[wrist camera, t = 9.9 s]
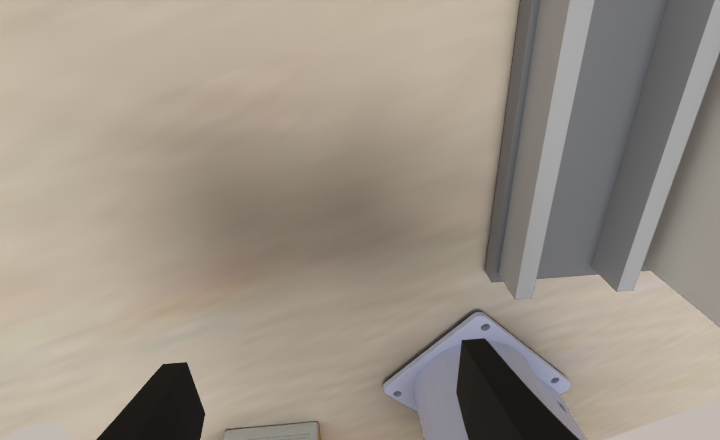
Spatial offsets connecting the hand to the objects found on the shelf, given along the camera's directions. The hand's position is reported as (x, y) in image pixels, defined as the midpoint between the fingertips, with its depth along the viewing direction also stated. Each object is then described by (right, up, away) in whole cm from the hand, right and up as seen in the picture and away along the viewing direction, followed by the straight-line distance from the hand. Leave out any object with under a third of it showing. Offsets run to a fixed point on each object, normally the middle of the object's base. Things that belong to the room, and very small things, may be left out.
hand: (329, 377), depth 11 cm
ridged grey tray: (+13, +8, +7) cm, 17 cm away
